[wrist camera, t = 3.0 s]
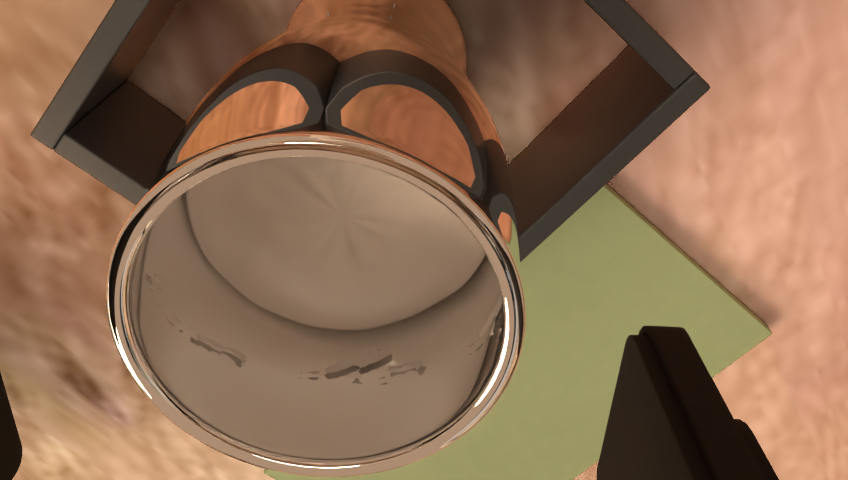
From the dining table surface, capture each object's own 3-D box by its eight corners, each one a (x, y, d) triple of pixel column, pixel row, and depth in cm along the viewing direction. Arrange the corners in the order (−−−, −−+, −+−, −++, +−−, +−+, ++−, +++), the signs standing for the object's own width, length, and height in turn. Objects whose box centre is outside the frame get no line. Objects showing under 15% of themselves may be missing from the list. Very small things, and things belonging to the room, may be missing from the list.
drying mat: (582, 163, 26) (586, 170, 26) (767, 324, 30) (773, 333, 29) (265, 463, 34) (263, 473, 33) (443, 563, 37) (443, 574, 37)
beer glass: (512, 103, 25) (606, 404, 12) (339, 188, 27) (257, 533, 14) (418, -93, 22) (407, 28, 9) (229, 16, 24) (-11, 251, 11)
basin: (338, -285, 20) (313, -315, 15) (660, 40, 24) (712, 88, 20) (98, 81, 25) (29, 135, 20) (400, 295, 29) (396, 377, 25)
